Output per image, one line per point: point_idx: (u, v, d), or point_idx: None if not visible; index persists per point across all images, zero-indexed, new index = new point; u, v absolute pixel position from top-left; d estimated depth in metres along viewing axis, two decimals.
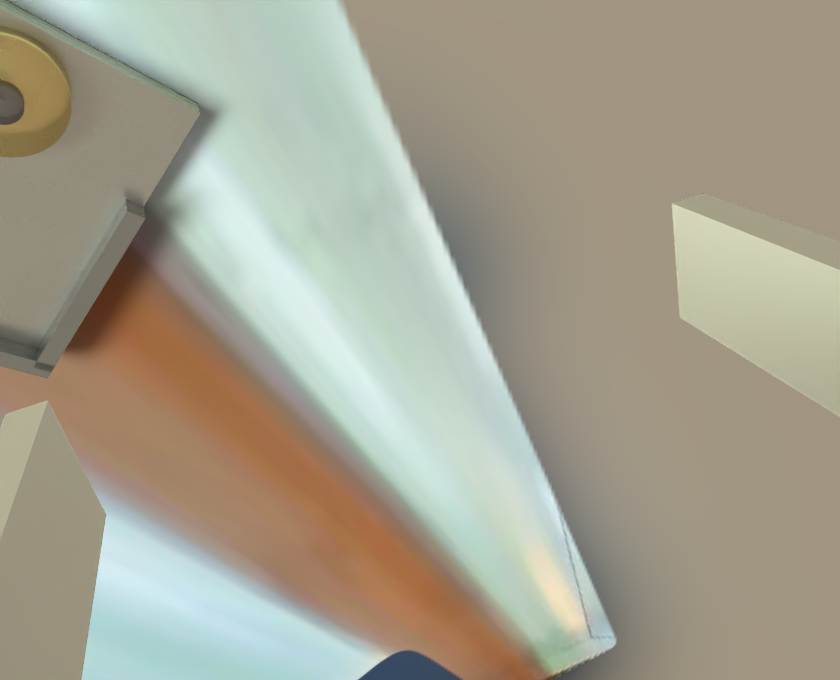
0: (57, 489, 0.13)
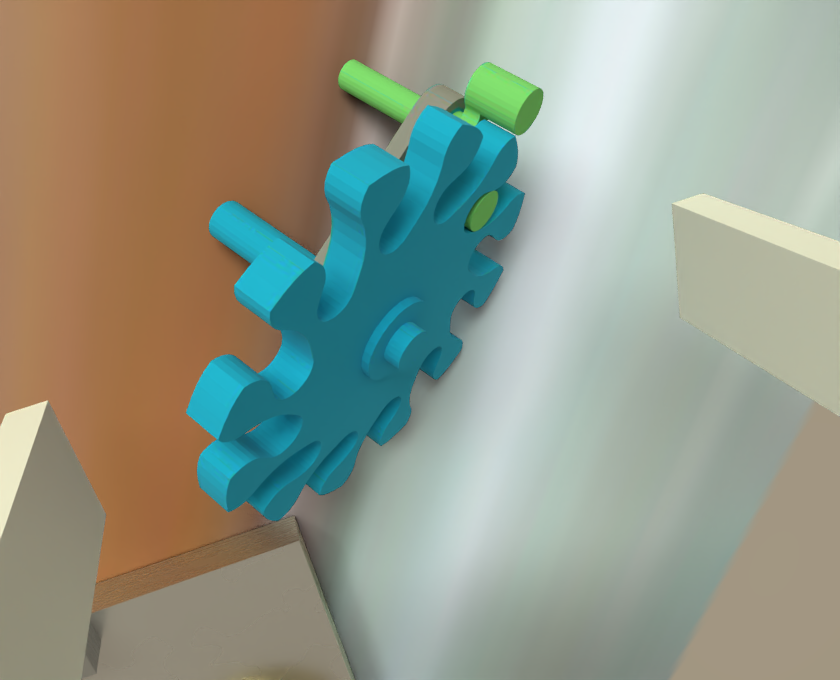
0: (57, 489, 0.13)
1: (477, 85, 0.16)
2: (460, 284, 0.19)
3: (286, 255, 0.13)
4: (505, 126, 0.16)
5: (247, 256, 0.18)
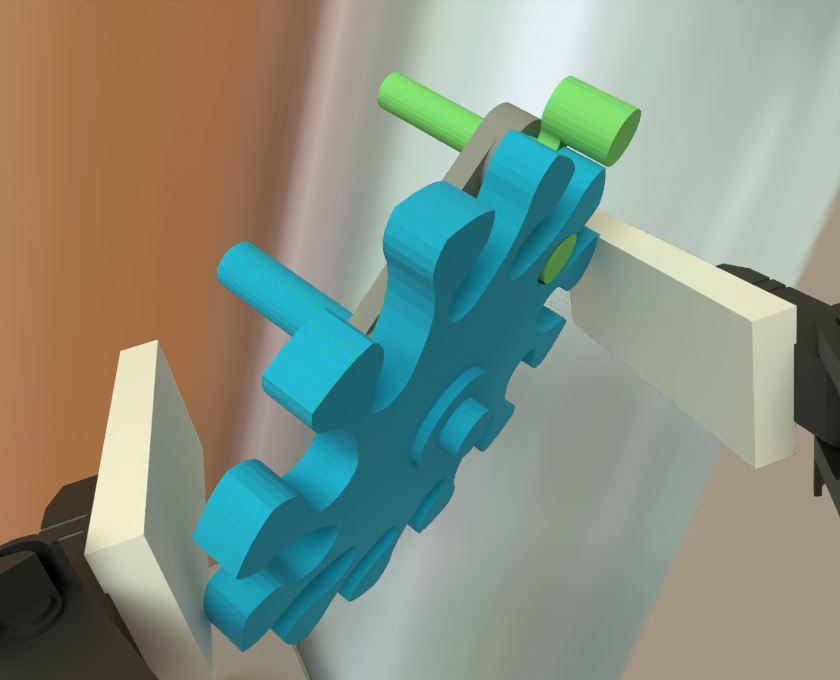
0: (173, 415, 0.15)
1: (559, 105, 0.13)
2: (523, 345, 0.15)
3: (334, 333, 0.09)
4: (592, 156, 0.13)
5: (264, 311, 0.15)
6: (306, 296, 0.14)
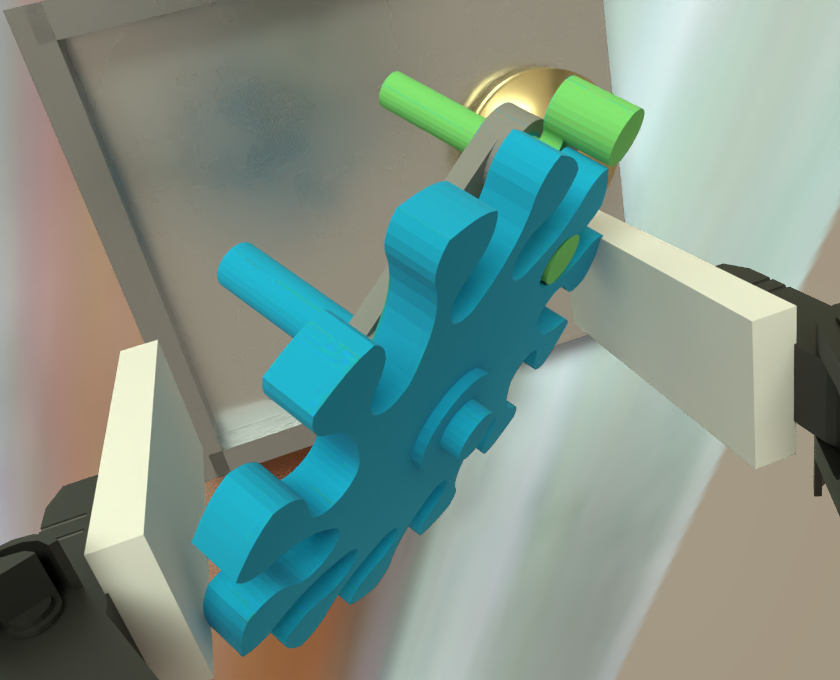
0: (173, 415, 0.15)
1: (562, 105, 0.13)
2: (525, 346, 0.15)
3: (335, 335, 0.09)
4: (596, 156, 0.13)
5: (264, 312, 0.14)
6: (307, 297, 0.14)
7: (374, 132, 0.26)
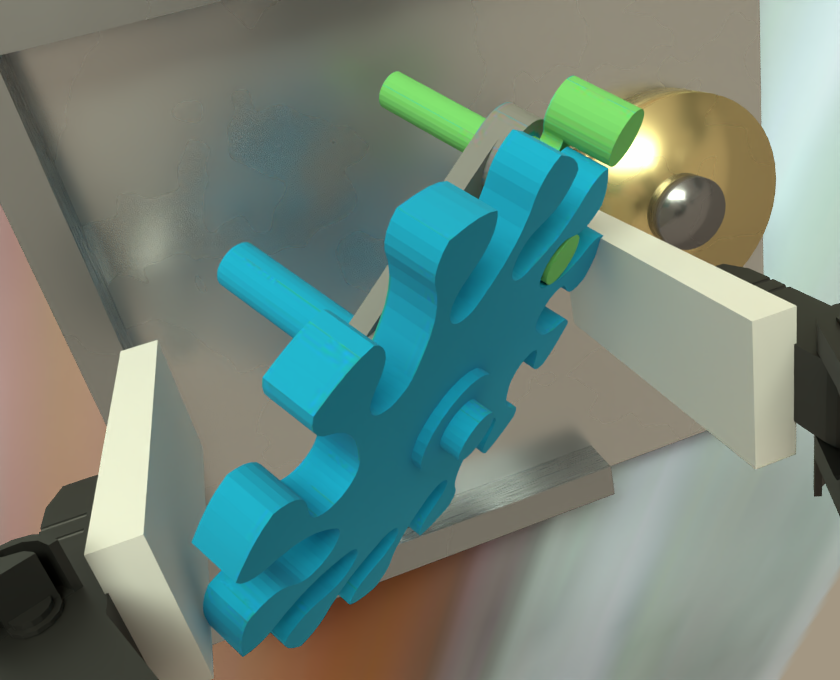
0: (173, 415, 0.15)
1: (562, 105, 0.13)
2: (525, 346, 0.15)
3: (335, 335, 0.09)
4: (596, 156, 0.13)
5: (264, 312, 0.14)
6: (307, 297, 0.14)
7: None
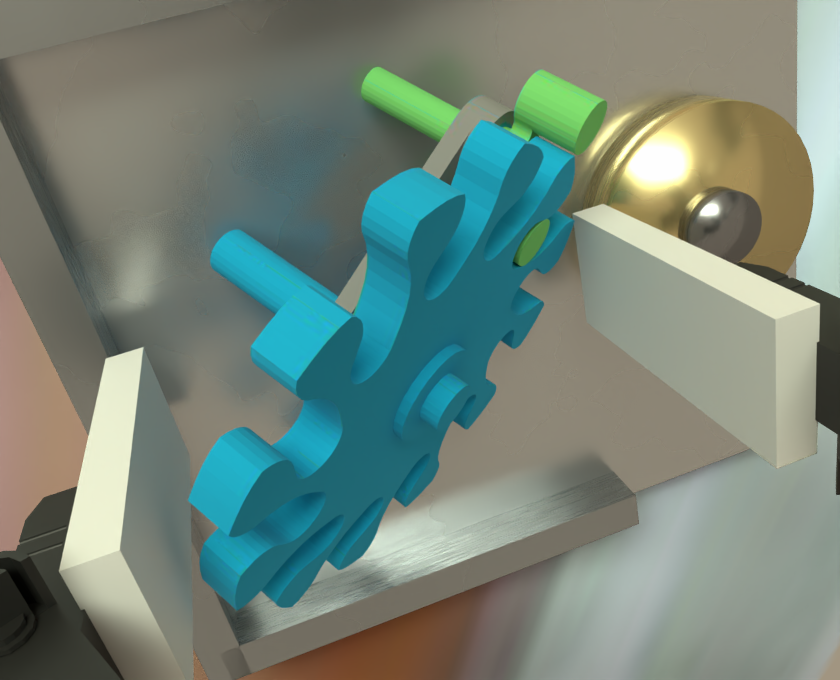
0: (158, 424, 0.14)
1: (531, 97, 0.14)
2: (501, 325, 0.16)
3: (316, 308, 0.10)
4: (563, 145, 0.14)
5: (255, 294, 0.15)
6: (295, 280, 0.15)
7: None
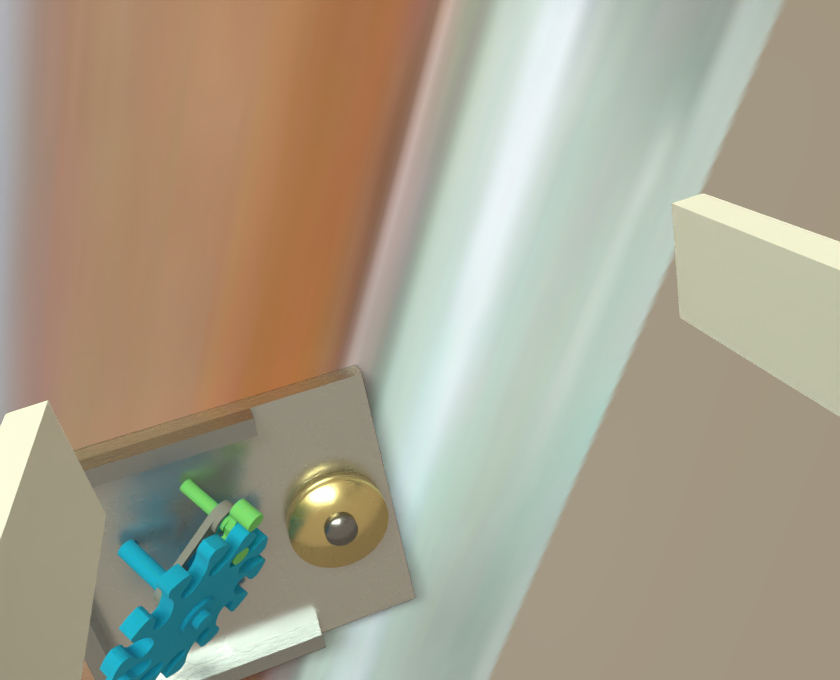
0: (57, 489, 0.13)
1: (233, 512, 0.38)
2: (235, 579, 0.40)
3: (139, 615, 0.34)
4: (246, 528, 0.38)
5: (134, 570, 0.39)
6: (149, 566, 0.39)
7: None
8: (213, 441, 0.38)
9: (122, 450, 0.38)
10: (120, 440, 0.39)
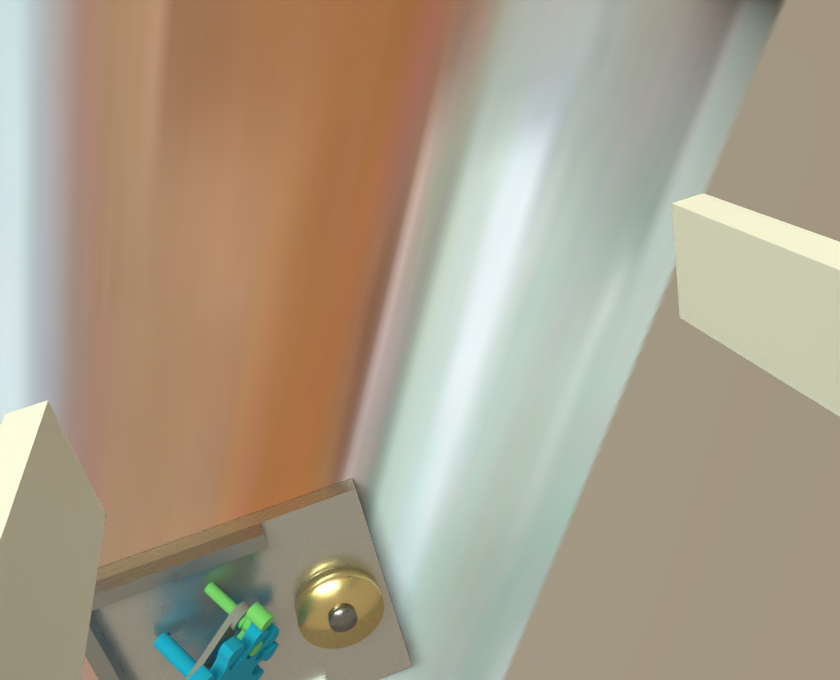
0: (57, 489, 0.13)
1: (249, 615, 0.45)
2: (253, 665, 0.47)
3: None
4: (259, 628, 0.45)
5: (167, 659, 0.46)
6: (180, 657, 0.46)
7: None
8: (230, 554, 0.45)
9: (155, 563, 0.45)
10: (153, 552, 0.46)
